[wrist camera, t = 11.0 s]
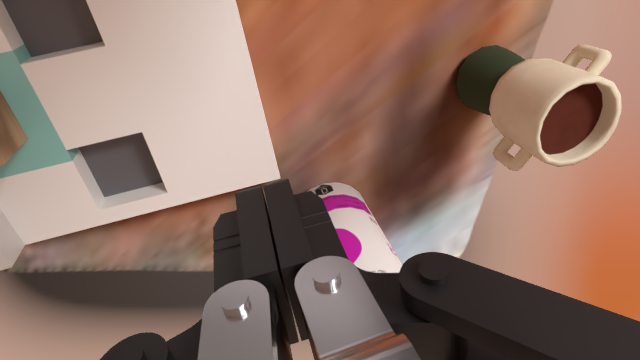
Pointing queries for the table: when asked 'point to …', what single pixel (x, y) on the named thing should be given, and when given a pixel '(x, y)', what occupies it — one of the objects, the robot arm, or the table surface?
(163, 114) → the board
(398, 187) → the table surface
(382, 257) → the supplement can
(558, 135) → the character mug
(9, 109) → the walnut block
